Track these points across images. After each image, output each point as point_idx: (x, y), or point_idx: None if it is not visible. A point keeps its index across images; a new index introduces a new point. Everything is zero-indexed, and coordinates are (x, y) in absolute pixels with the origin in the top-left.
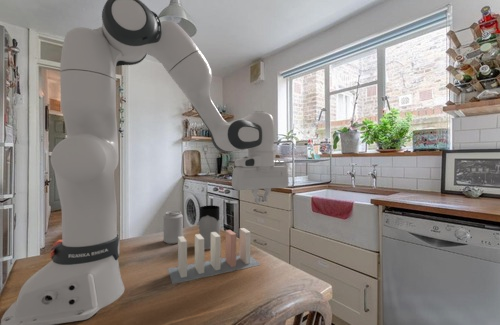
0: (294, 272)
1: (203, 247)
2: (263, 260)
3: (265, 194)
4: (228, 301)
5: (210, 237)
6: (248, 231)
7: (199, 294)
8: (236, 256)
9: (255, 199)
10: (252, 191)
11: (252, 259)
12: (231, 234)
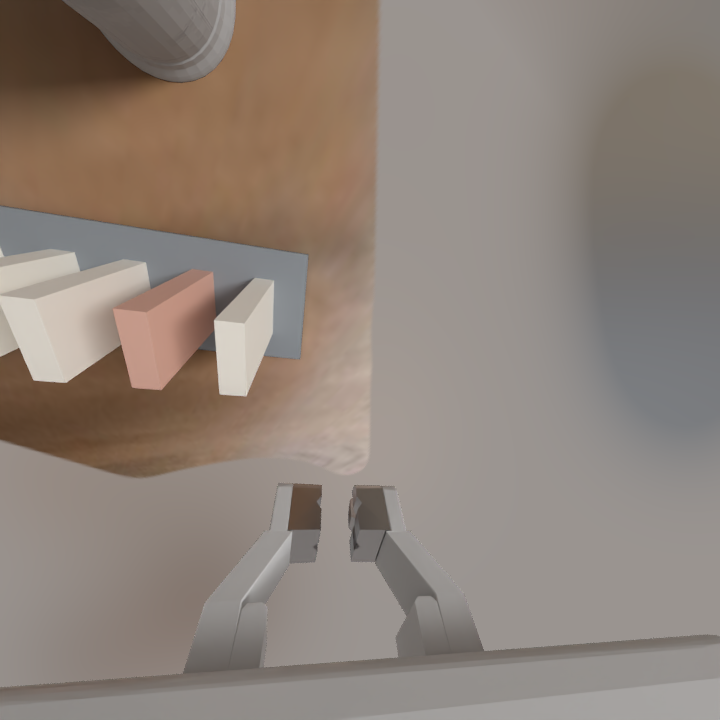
0: (353, 421)
1: (1, 353)
2: (329, 329)
3: (396, 567)
4: (147, 443)
5: (99, 26)
6: (240, 385)
7: (77, 397)
8: (249, 256)
9: (273, 515)
10: (203, 628)
11: (294, 313)
12: (134, 384)
